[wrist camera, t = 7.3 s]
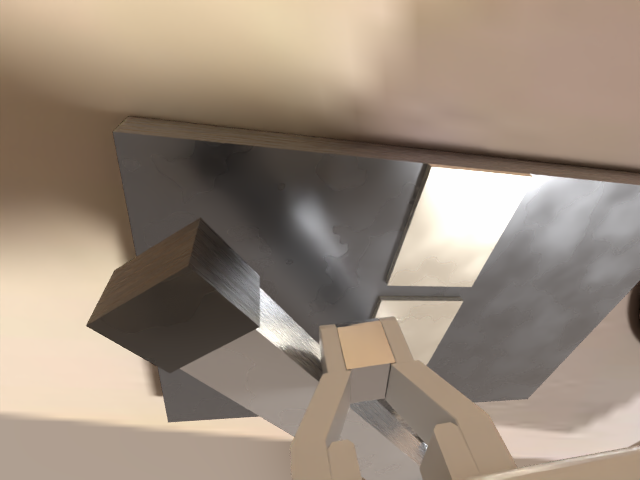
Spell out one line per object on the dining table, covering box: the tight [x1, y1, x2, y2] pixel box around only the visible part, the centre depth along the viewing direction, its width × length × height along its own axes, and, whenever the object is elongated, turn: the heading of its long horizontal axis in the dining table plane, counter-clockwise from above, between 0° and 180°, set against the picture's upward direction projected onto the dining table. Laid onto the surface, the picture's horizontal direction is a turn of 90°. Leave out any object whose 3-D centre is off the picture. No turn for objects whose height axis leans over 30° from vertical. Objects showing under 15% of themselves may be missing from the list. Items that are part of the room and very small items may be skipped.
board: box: [113, 116, 640, 443], centre depth 18 cm, size 18×26×5 cm
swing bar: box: [86, 217, 428, 480], centre depth 14 cm, size 21×4×2 cm, turn 30°
